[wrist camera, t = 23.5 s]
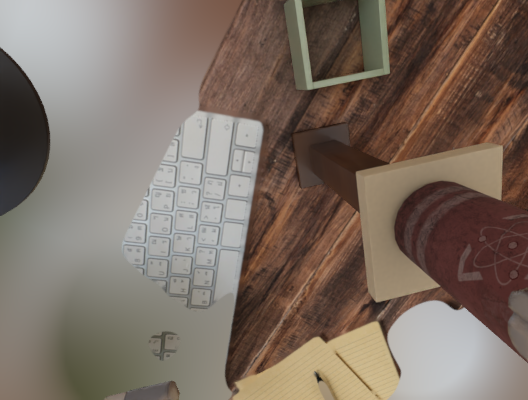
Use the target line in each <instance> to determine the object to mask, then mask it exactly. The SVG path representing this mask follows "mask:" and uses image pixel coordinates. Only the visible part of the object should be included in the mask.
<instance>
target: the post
mask: <svg viewBox="0 0 528 400" xmlns="http://www.w3.org/2000/svg"><path fill="white" fill-rule="evenodd" d="M291 137H292V143H293V149H294V155H295V162H296V168H297V174H298V180H299V186H300V188H301V189H302V188H306V187H311V186H315V185H320V184H324V183H325V184H327V185H328V186H329V187H330V188H331V189H332V190H334V191H335V192H336V193H337V194H338V195H339V196H340V197H342V198H343V199H344V200H345V201H346V202H347V203H349V204H350V205H351V206H352V207H353V208H354V209H355V210H357V211H358V212H359V213H360V208H359V199H358V189H357V180H356V172H357V171H361V170H366V169H370V168H375V167H379V166H384V165H388V164H389V163H386V162H384V161H382V160H380V159H377V158H375V157H373V156H371V155H368V154H366V153H364V152H362V151H359V150H357V149H355V148H353V147H350V139H349V129H348V123H346V122H343V123H338V124H334V125H329V126H324V127H319V128H315V129H310V130H305V131H300V132H296V133H291Z"/></svg>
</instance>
